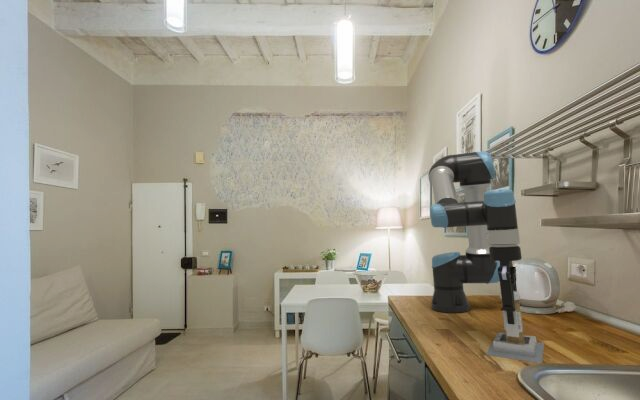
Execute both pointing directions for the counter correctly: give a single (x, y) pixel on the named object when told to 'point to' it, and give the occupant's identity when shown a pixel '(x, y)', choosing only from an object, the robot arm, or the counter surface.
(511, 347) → the metal collar
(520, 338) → the sprinkles bottle
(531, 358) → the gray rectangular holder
